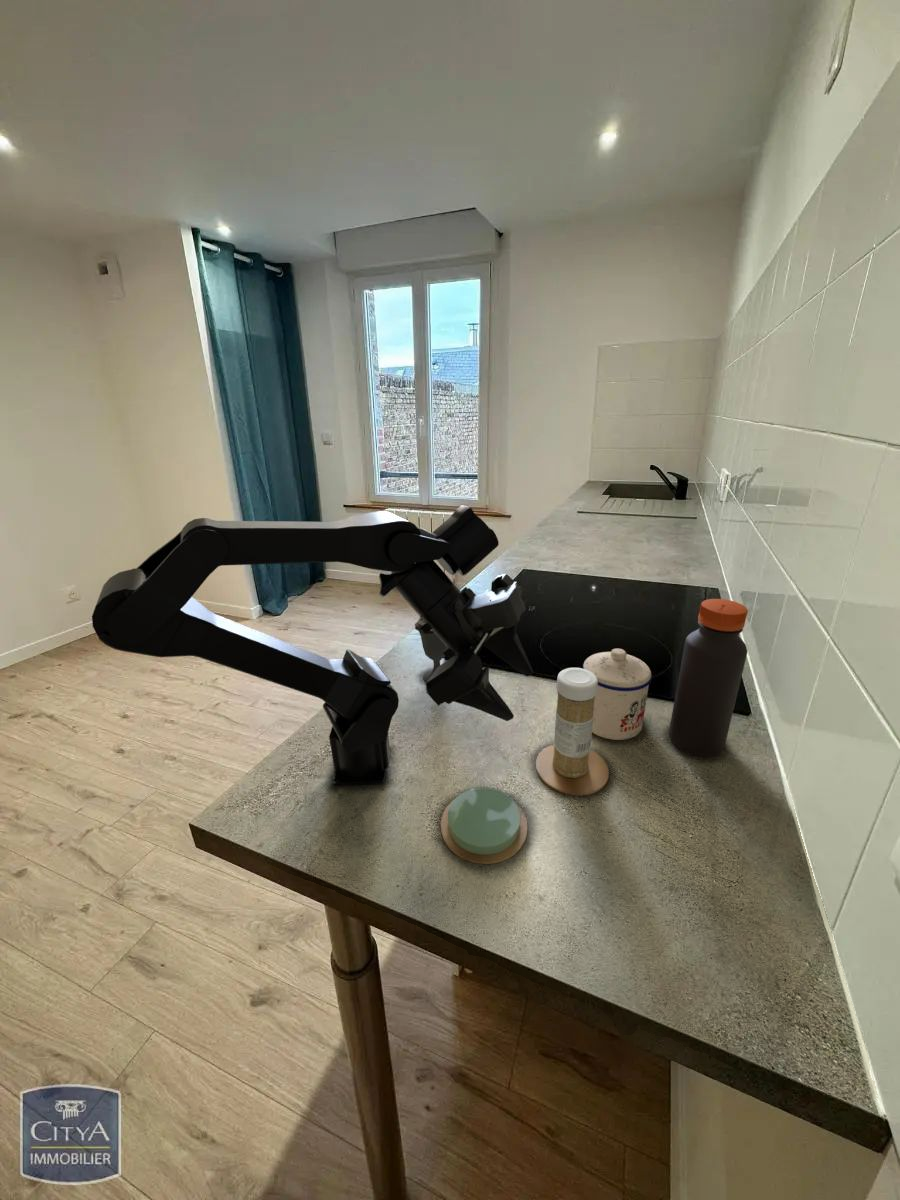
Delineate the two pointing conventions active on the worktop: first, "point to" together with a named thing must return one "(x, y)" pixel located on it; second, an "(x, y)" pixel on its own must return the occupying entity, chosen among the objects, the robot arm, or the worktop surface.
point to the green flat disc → (484, 821)
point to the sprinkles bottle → (574, 721)
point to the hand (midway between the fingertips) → (521, 695)
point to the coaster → (573, 786)
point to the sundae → (431, 647)
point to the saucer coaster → (478, 857)
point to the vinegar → (709, 679)
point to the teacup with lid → (618, 693)
